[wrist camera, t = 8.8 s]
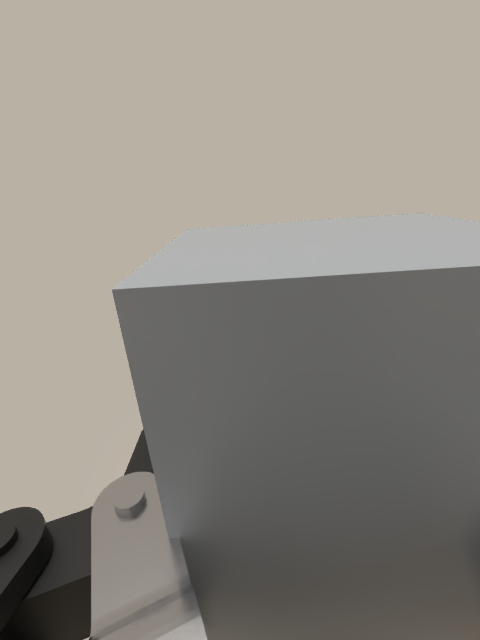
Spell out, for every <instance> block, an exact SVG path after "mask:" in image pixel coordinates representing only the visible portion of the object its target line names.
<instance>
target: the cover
mask: <svg viewBox="0 0 480 640" xmlns="http://www.w3.org/2000/svg"><path fill="white" fill-rule="evenodd" d="M112 292H113V296H114V301H115V305H116V310H117V314H118V318H119V323H120V327H121V332H122V336H123V340H124V345H125V349H126V354H127V358H128V362H129V367H130V371H131V376H132V380H133V384H134V389H135V393H136V397H137V402H138V406H139V411H140V415H141V419H142V423H143V428H144V433H145V437H146V442H147V446H148V450H149V455H150V459H151V464H152V468H153V472H154V477H155V481H156V486H157V490H158V494H159V499H160V503H161V508H162V512H163V516H164V521H165V525H166V529H167V534H168V538H180V542H181V546H182V550H183V554H184V558H185V561H186V565H187V569H188V573H189V577H190V581H191V584H192V587H193V589H194V592H195V595H196V599H197V602H198V606H199V610H200V613H201V617H202V621H203V625H204V629H205V632H206V636H207V640H480V222H477V221H470V220H463V219H456V218H449V217H444V216H437V215H430V214H423V213H415V214H414V213H413V214H398V215H384V216H370V217H355V218H341V219H328V220H312V221H297V222H283V223H269V224H254V225H240V226H225V227H211V228H197V229H187V230H186V231H185V232H183V233H182V234H181V235H180V236H178V237H177V238H176V239H175V240H173V241H172V242H171V243H170V244H168V245H167V246H166V247H165V248H163V249H162V250H161V251H160V252H158V253H157V254H156V255H155V256H154V257H152V258H151V259H150V260H148V261H147V262H146V263H145V264H143V265H142V266H141V267H140V268H138V269H137V270H136V271H135V272H133V273H132V274H131V275H130V276H128V277H127V278H126V279H124V280H123V281H122V282H121V283H120V284H118V285H117V286H116V287H114V288H113V289H112Z"/></svg>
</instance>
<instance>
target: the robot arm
mask: <svg viewBox="0 0 480 640" xmlns="http://www.w3.org/2000/svg"><path fill="white" fill-rule="evenodd" d="M88 637H90V638H89V640H207V636H206V632H205V629H204V625H203V621H202V617H201V613H200V610H199V606H198V602H197V599H196V595H195V592H194V589H193V587H192V584H191V581H190V577H189V573H188V569H187V565H186V561H185V558H184V554H183V550H182V546H181V542H180V538H168V534H167V529H166V525H165V521H164V516H163V512H162V508H161V503H160V499H159V494H158V490H157V486H156V481H155V477H154V472H153V468H152V464H151V459H150V455H149V450H148V446H147V442H146V437H145V433H144V428H143V431H142V432H141V435H140V437H139V440H138V442H137V444H136V447H135V449H134V452H133V454H132V457H131V459H130V462H129V464H128V467H127V469H126V472H125V474H124V476H122V477H120V478H118V479H117V480H115V481H113V482H112V483H111V484H109V485H108V486H107V487H106V488H105V489H104V490H103V491H102V493H100V495H99V496H98V498H97V499H96V501H95V503H94V506H92V507H90V508H88V509H85V510H83V511H80V512H77V513H74V514H71V515H68V516H65V517H62V518H59V519H56V520H53V521H50V522H47V523H46V522H45V520H44V517H43V515H42V513H41V512H40V511H39V510H37V509H35V508H31V507H20V508H15V509H11V510H8V511H5V512H3V513H1V514H0V640H83V639H86V638H88Z"/></svg>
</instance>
